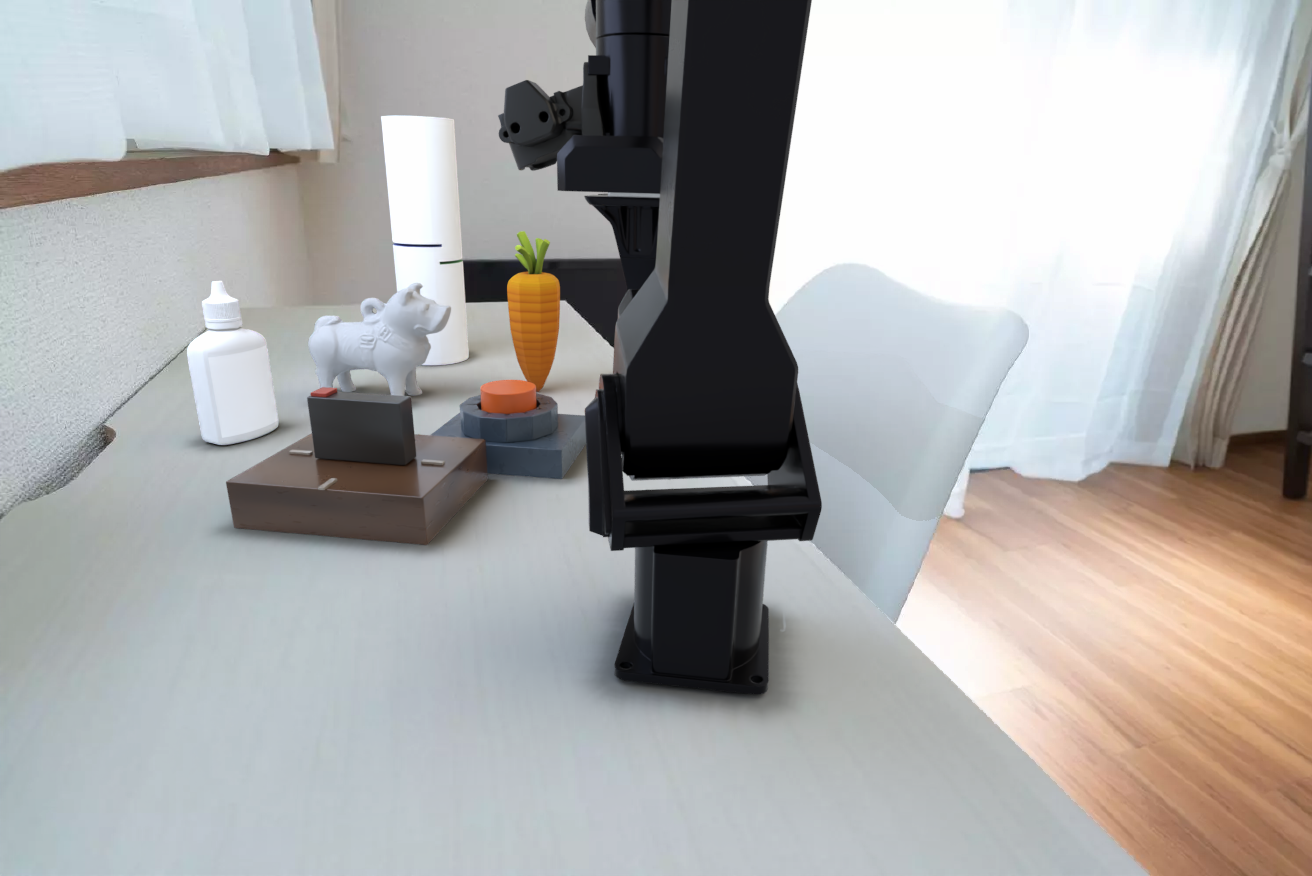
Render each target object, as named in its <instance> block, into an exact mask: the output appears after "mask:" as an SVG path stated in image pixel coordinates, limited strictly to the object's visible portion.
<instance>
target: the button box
mask: <svg viewBox="0 0 1312 876" xmlns="http://www.w3.org/2000/svg"><path fill="white" fill-rule="evenodd" d="M558 406H559V405H558V402H557V401H556V400H555V399H554V397H552V396H549V395H545V394H541V393H539V392H536V407H537V408H536V409H534V410H530V411H527V412H522V413H511V414H502V413H489V412H486V411H482V410H481V394H479V395H475V396H471V397H468V398H467V399H465V400H464V401H463V402H461V403H460V404H459V412H458V413H457V414H456V415H454V416H453V417H452V418H450V419H449V420H448V421H446V422H445V423H444V424H443V425H442V426H440V427H438V428H437V429H436V430H435V431H434V432H432V433H431V434H430V435H431V436H446V437H460V438H474V439H485V440H486V457H487V474H488V475H489V474H490V475H502V476H514V477H515V476H516V477H527V478H528V477H529V478H541V479H542V478H543V479H555V480H563V478H564V477H565V476H566V474H567V473H568V471H569V470H570V468H571V467H572V465H573V464H574V462H575V461H576V460H577V458H578V457H579V455H580V453H582V451H583V449H584V448H585V447H586V430H585V414H584V415H583V414H569V413H568V414H567V413H559V407H558Z"/></svg>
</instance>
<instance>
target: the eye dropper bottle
mask: <svg viewBox="0 0 1312 876" xmlns="http://www.w3.org/2000/svg"><path fill="white" fill-rule="evenodd" d="M210 289H211V290H210V295H209V297H207V298H205V299H203V300H202V301H201V306H202V313H203V318H204V324H205V328H206V329H207V330H206V331H205V332H203V333H201V334H199V335H198V336H197V337H195V338H194V339H192V341H190V343H189V345H188V346H187V349H186V356H187V362H188V369H189V374H190V381H191V386H192V392H193V397H194V402H195V409H196V413H197V418H198V424H199V429H200V435H201V439H202V440H203V441H204V442H206V443H210V444H215V445H219V446H227V445H228V446H229V445H233V444H238V443H239V444H240V443H243V442H247V441H251V440H254V439H257V438H260V437H262V436H263V437H264V436H265V435H267V434H270V433H271V432H273V431H274V430H276V429H277V428H278V426H279V424H280V419H279V413H278V412H279V411H278V406H277V405H278V404H277V399H276V392H275V387H274V379H273V373H272V366H271V361H270V359H271V358H270V354H269V347H268V343H267V340H266V338H265V337H264V335H263V334H261V333H259V332H258V331H255V330H252V329H248V328H243V318H242V312H241V306H240V300H239V299H238V298H236V297H233V296H231V295H229V294H228V292H227V289H226V286H225V284H224V282H223V280H213V281H211V288H210Z"/></svg>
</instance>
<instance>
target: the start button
mask: <svg viewBox="0 0 1312 876" xmlns="http://www.w3.org/2000/svg"><path fill="white" fill-rule="evenodd" d="M479 389H480V391H479V392H480V395H481V410H482V411H486V412H489V413H502V414H511V413H522V412H527V411H530V410H534V409H536V408H537V407H536V393H537V392H536V386H535V384H533V383H531V382H528V381H527V380H523V379H498V380H493V381H489V382H485V383H484V384H482V385H481V386H480V388H479Z"/></svg>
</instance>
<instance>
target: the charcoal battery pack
mask: <svg viewBox="0 0 1312 876" xmlns="http://www.w3.org/2000/svg"><path fill="white" fill-rule="evenodd" d="M306 399H307V400H306V402H307V407H308V408H307V409H308V415H309V423H310V431H311V433H312V438H313V446H314V453H315V458H321V459H333V460H345V461H358V462H370V463H383V464H395V465H406V464H407V463H409V462H410V461H411V460H413V459H414V458H415V457H416V446H415V435H414V434H415V425H414V424H415V423H414V414H413V403H412V401H413V400H412V396H411V395H404V396H397V395H391V394H380V393H366V392H354V391H352V392H342V391H339V390H338V388H337V387H333V388H327V387H322V388H320V387H319V388H318V389H316V390H313V391H311V392H310V395H309V396H307V397H306Z"/></svg>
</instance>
